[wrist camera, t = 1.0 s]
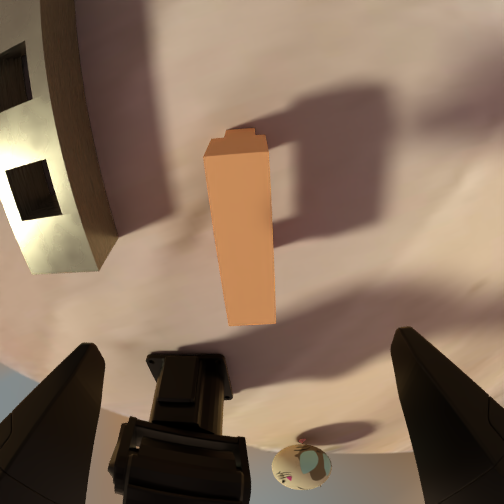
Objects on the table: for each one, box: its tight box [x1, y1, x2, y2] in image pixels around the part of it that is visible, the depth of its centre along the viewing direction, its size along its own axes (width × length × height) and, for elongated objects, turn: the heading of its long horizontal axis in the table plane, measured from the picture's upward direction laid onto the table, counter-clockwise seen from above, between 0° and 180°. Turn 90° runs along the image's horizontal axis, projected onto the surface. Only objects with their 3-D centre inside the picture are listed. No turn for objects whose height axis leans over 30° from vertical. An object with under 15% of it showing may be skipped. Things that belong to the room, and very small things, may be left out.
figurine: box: [272, 439, 332, 490], centre depth 32 cm, size 8×6×7 cm
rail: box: [0, 0, 118, 274], centre depth 13 cm, size 16×5×3 cm, turn 4°
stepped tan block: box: [203, 128, 276, 326], centre depth 15 cm, size 8×2×6 cm, turn 4°
